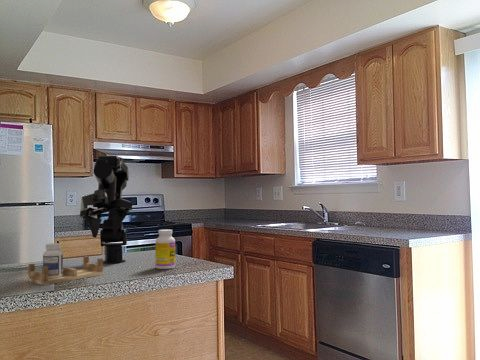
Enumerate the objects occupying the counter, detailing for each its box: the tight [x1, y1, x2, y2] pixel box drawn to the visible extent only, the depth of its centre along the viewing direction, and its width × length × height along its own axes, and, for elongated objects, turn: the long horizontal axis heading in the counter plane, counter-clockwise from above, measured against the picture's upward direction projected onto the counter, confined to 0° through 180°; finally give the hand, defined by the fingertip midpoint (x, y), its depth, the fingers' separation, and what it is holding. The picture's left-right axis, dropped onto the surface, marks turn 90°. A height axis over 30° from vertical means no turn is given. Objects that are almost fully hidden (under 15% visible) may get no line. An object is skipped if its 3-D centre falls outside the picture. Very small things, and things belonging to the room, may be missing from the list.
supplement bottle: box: [155, 229, 176, 270], centre depth 145 cm, size 7×7×13 cm
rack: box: [28, 255, 104, 286], centre depth 130 cm, size 9×19×5 cm, turn 142°
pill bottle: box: [42, 242, 64, 278], centre depth 126 cm, size 5×5×10 cm
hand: (104, 235), depth 138 cm, fingers open, 9 cm apart
